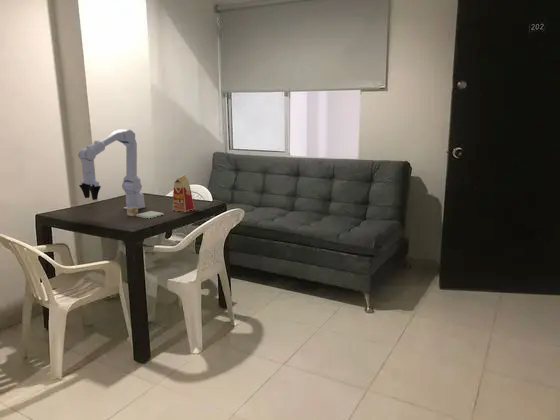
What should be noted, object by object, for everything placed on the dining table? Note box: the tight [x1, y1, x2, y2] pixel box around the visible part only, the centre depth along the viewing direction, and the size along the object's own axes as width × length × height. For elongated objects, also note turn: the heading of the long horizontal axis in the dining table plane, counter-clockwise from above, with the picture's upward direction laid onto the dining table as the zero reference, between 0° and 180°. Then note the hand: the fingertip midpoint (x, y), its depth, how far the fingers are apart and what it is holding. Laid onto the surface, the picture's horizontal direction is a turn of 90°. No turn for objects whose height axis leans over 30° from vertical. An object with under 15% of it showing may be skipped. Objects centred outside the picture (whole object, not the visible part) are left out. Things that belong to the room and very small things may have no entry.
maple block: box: [126, 207, 139, 217], centre depth 247 cm, size 4×4×4 cm
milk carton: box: [172, 173, 195, 213], centre depth 256 cm, size 9×9×20 cm
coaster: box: [135, 210, 165, 220], centre depth 245 cm, size 10×10×1 cm
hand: (91, 198), depth 239 cm, fingers open, 7 cm apart
